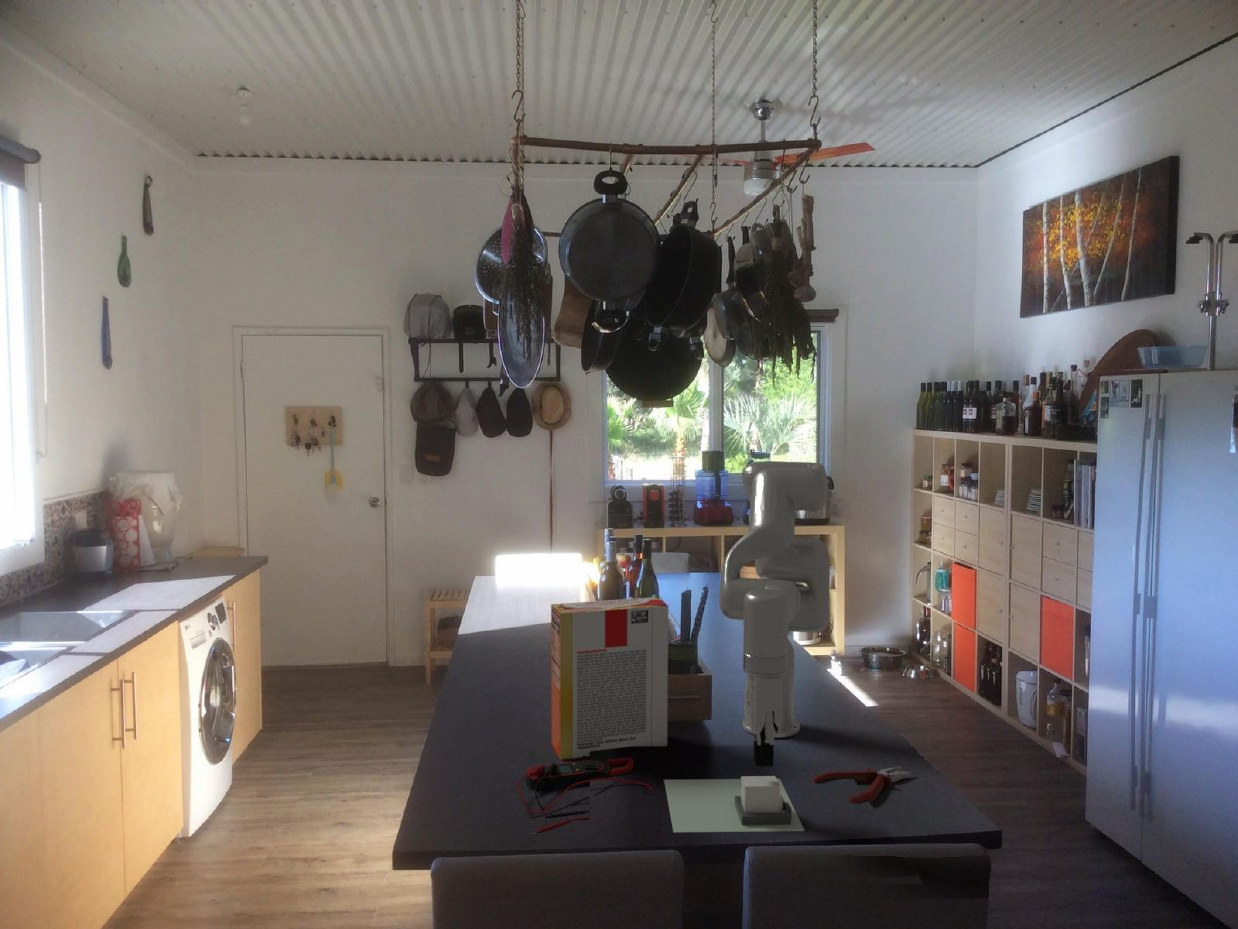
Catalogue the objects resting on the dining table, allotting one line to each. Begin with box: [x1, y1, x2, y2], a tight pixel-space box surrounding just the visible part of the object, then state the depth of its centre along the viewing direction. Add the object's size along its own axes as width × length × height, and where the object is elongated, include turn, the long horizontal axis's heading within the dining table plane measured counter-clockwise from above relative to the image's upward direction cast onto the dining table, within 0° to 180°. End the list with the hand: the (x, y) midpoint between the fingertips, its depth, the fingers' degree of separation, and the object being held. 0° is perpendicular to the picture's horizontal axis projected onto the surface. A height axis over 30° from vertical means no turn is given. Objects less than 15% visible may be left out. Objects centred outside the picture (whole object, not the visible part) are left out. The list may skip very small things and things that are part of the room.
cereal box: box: [550, 596, 669, 761], centre depth 185 cm, size 23×8×30 cm, turn 107°
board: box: [663, 778, 805, 834], centre depth 158 cm, size 20×22×2 cm
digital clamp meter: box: [517, 757, 654, 836], centre depth 163 cm, size 23×4×25 cm
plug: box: [740, 775, 783, 813], centre depth 154 cm, size 4×7×6 cm, turn 92°
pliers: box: [812, 765, 915, 805], centre depth 168 cm, size 12×20×3 cm, turn 120°
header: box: [735, 796, 791, 825], centre depth 154 cm, size 8×9×2 cm
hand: (763, 764), depth 155 cm, fingers closed
